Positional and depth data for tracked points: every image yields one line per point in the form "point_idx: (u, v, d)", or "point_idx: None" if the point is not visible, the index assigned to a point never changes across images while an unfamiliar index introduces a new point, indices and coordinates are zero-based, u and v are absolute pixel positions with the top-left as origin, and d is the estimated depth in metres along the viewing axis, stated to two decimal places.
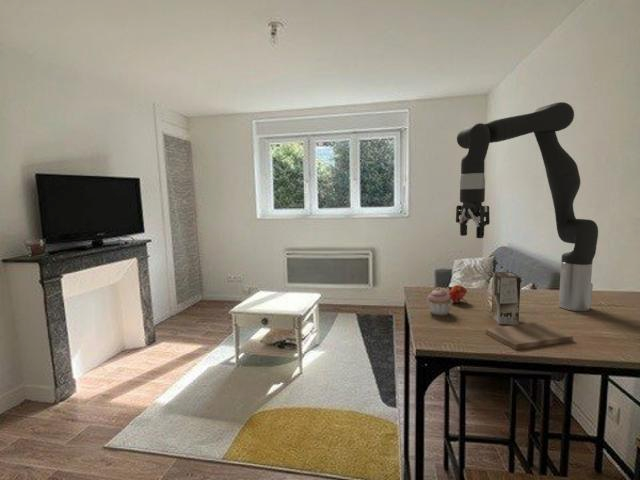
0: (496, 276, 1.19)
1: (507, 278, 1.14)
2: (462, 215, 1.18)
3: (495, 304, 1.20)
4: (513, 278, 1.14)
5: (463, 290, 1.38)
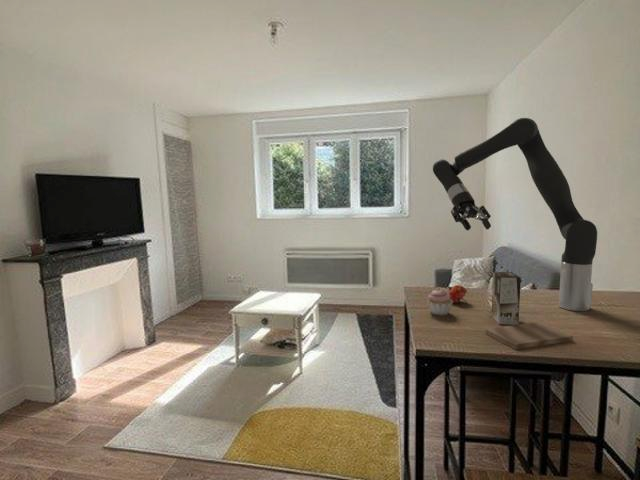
0: (496, 276, 1.19)
1: (507, 278, 1.14)
2: None
3: (495, 304, 1.20)
4: (513, 278, 1.14)
5: (463, 290, 1.38)
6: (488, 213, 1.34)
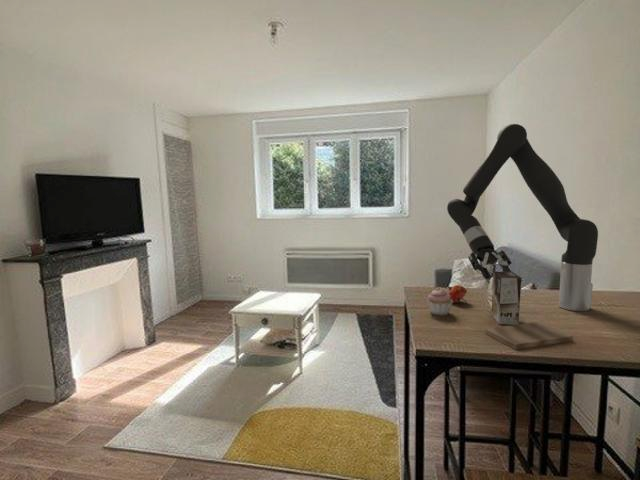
0: (496, 276, 1.18)
1: (508, 278, 1.14)
2: None
3: (495, 304, 1.19)
4: (514, 278, 1.13)
5: (463, 290, 1.38)
6: (509, 259, 1.26)
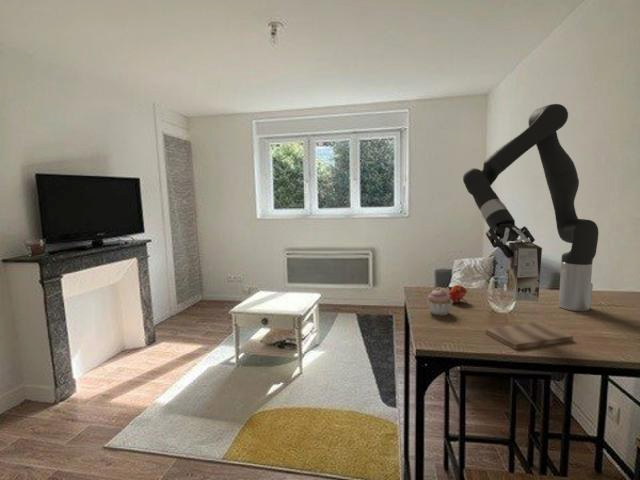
0: (513, 247, 1.05)
1: (526, 249, 1.00)
2: None
3: (511, 278, 1.06)
4: (533, 249, 1.00)
5: (463, 290, 1.38)
6: (532, 236, 1.11)
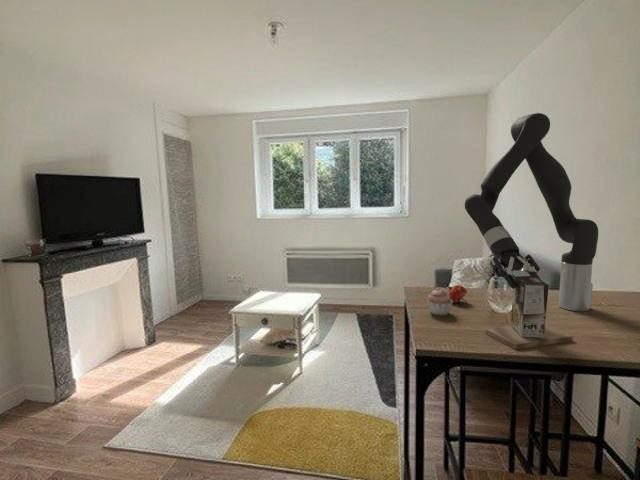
0: (519, 282, 1.03)
1: (533, 286, 0.99)
2: None
3: (517, 313, 1.05)
4: (540, 286, 0.98)
5: (463, 290, 1.38)
6: (537, 265, 1.09)
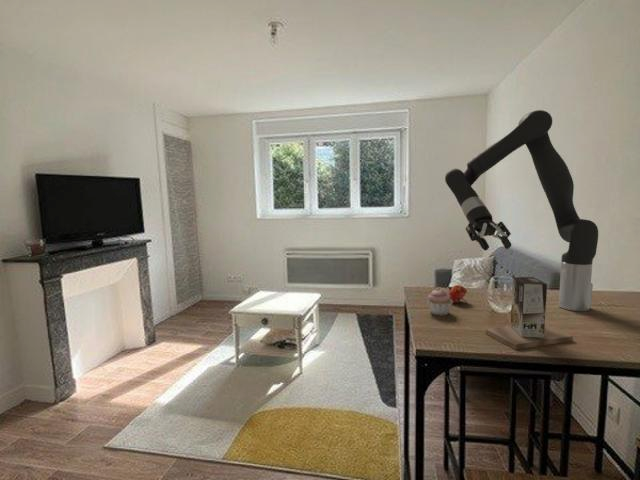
0: (517, 282, 1.04)
1: (532, 285, 1.00)
2: None
3: (516, 314, 1.05)
4: (538, 285, 1.00)
5: (463, 290, 1.38)
6: (508, 230, 1.20)
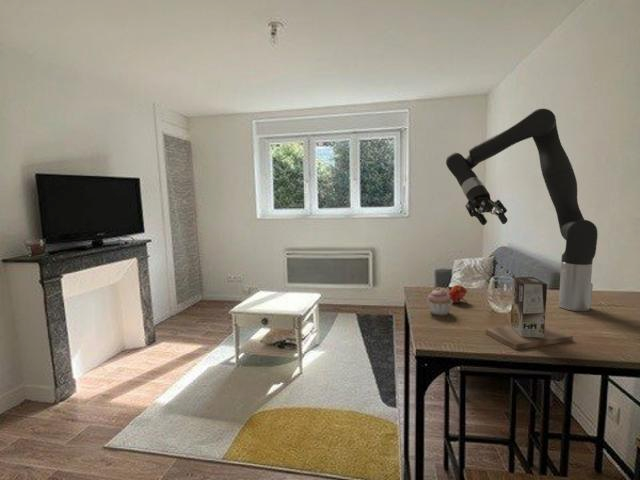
0: (517, 282, 1.04)
1: (532, 285, 1.00)
2: None
3: (516, 314, 1.05)
4: (538, 285, 1.00)
5: (463, 290, 1.38)
6: (504, 207, 1.30)
